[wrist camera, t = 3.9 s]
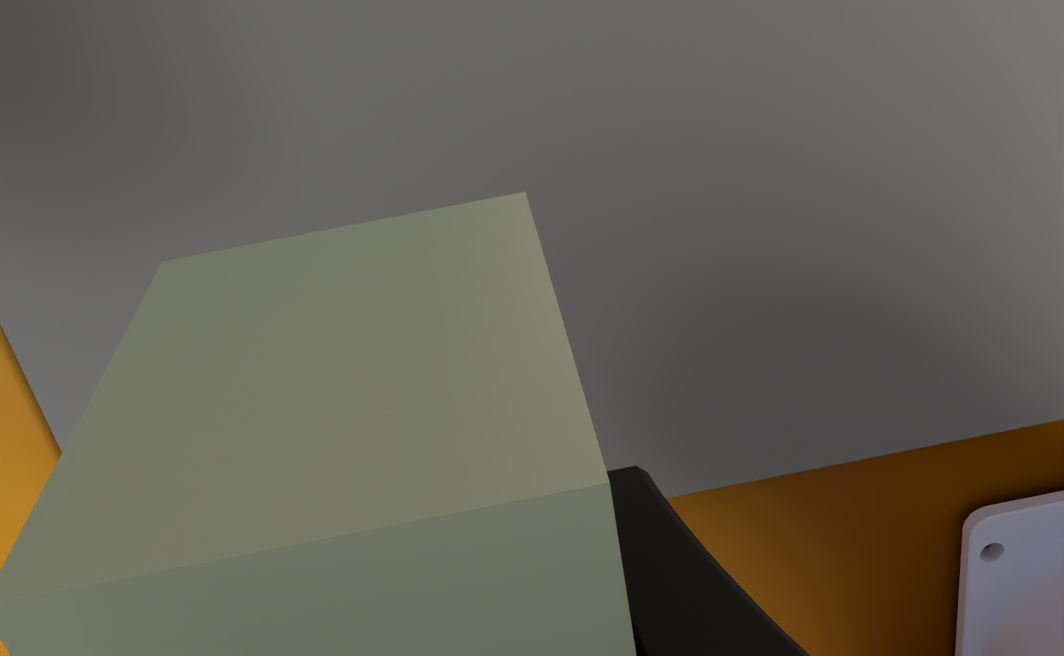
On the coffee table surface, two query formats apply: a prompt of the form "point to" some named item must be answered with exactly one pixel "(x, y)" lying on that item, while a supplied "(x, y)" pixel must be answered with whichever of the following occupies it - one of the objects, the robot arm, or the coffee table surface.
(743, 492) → the coffee table surface
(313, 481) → the sage brick
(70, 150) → the mat
